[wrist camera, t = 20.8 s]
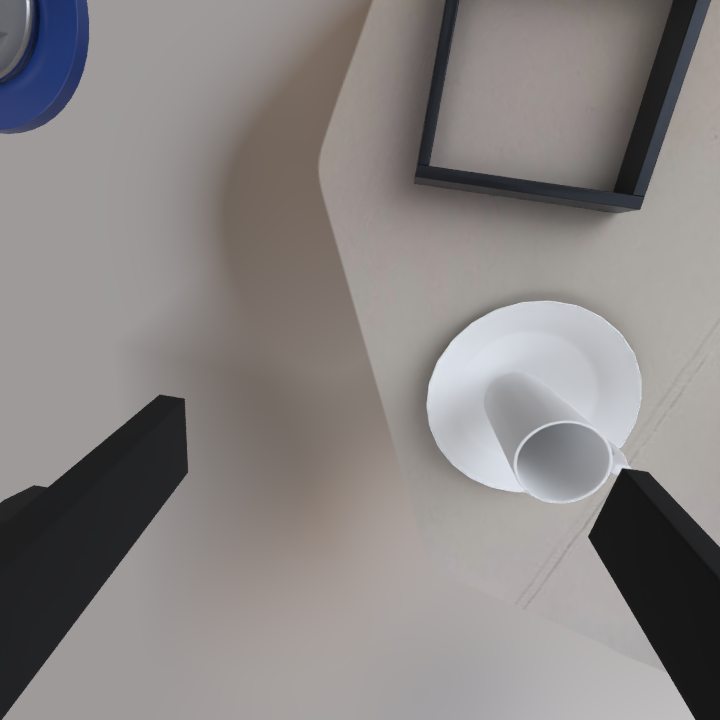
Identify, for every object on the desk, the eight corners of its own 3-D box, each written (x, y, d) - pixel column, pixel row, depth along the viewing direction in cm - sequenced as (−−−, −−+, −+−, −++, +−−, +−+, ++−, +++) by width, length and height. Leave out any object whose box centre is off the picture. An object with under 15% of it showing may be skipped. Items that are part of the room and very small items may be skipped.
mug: (471, 421, 40) (500, 490, 29) (492, 361, 38) (532, 410, 27) (566, 445, 40) (634, 524, 28) (592, 386, 38) (676, 446, 26)
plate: (400, 448, 44) (400, 458, 42) (467, 270, 38) (471, 271, 36) (572, 504, 44) (581, 517, 42) (668, 334, 38) (684, 339, 36)
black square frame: (413, 183, 37) (415, 176, 33) (455, -56, 31) (461, -92, 28) (617, 213, 36) (640, 209, 32) (695, -28, 30) (732, -63, 27)
